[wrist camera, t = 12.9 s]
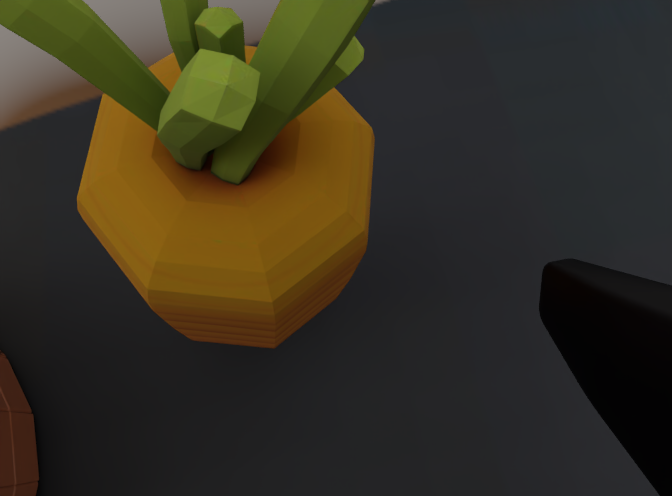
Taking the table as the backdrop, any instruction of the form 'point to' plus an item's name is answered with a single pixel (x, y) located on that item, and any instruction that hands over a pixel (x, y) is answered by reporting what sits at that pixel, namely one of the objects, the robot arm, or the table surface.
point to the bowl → (16, 437)
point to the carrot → (223, 160)
